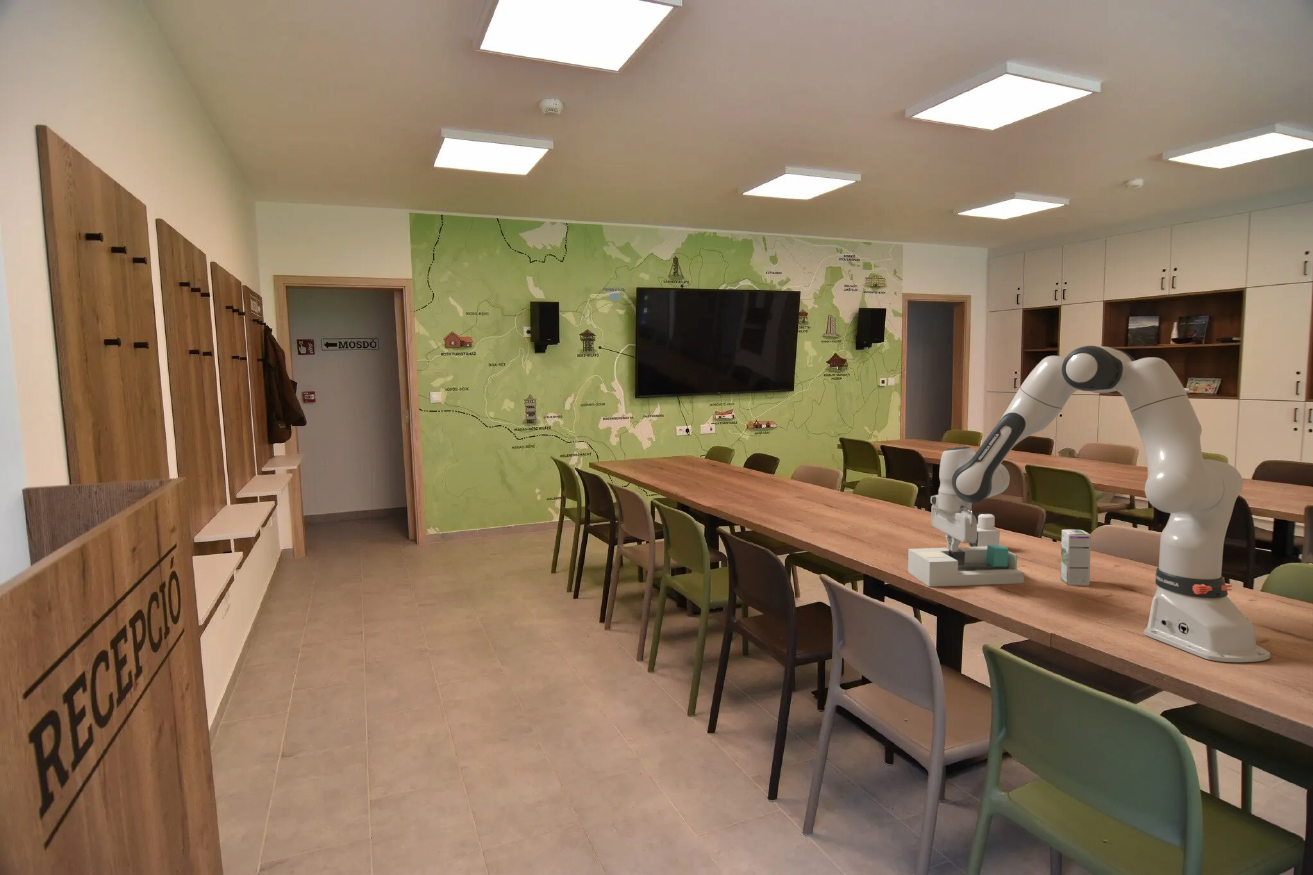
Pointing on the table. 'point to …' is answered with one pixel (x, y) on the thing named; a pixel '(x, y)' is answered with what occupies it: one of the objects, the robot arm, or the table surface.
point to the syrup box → (1075, 557)
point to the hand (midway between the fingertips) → (952, 550)
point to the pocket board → (944, 569)
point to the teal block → (997, 555)
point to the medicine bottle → (986, 530)
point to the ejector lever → (961, 565)
